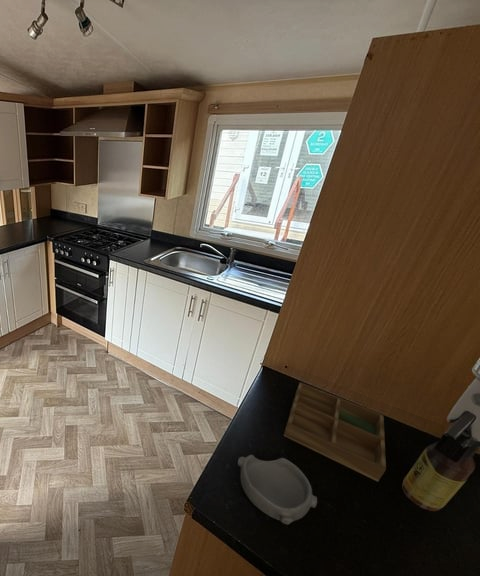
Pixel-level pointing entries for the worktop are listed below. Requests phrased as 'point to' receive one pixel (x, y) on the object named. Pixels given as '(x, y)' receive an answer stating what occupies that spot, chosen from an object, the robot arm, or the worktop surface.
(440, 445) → the robot arm
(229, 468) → the worktop surface
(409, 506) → the worktop surface
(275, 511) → the dish
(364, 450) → the grid
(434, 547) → the worktop surface
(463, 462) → the sauce bottle
